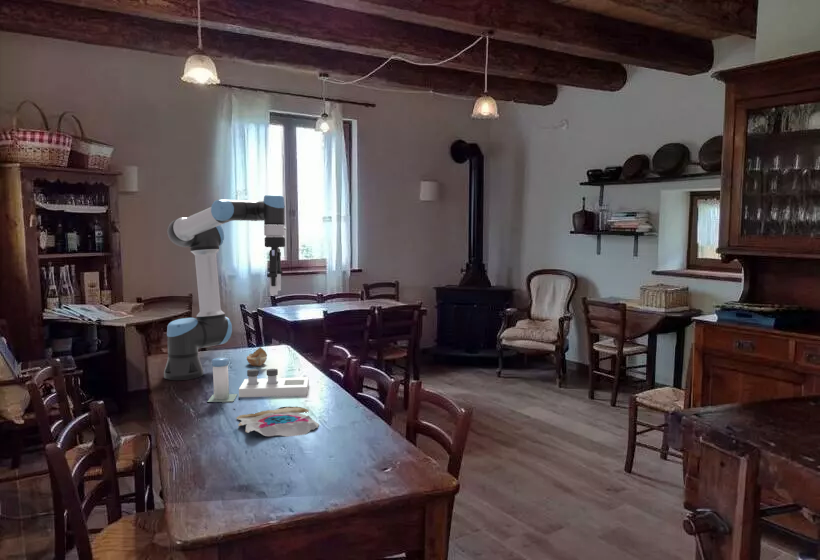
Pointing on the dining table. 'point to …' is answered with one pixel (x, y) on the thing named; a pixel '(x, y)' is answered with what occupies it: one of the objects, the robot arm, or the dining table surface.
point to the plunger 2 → (272, 376)
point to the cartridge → (220, 378)
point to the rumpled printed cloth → (279, 422)
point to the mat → (230, 399)
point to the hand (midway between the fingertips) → (275, 292)
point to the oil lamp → (257, 357)
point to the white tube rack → (275, 387)
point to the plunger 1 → (252, 376)
